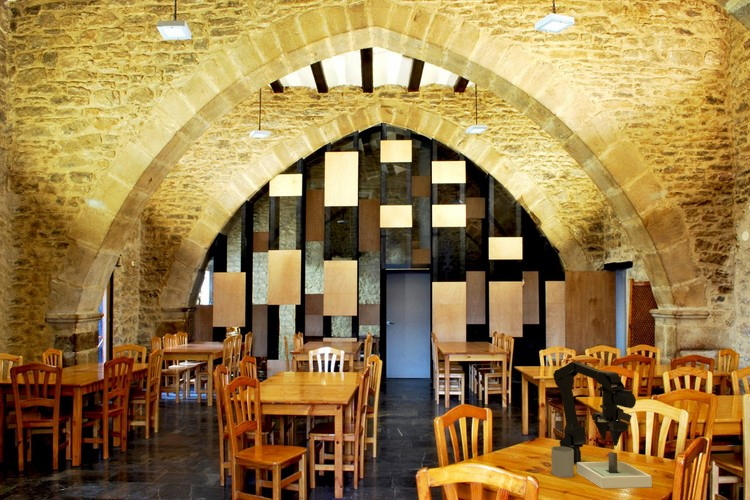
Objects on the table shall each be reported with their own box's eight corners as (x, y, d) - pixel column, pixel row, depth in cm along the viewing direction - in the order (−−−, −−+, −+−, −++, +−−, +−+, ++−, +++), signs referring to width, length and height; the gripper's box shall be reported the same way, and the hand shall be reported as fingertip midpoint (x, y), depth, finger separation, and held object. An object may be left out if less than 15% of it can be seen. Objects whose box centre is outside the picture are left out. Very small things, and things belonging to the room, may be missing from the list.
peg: (611, 478, 231) (611, 454, 232) (607, 475, 234) (606, 452, 235) (619, 478, 232) (618, 454, 232) (614, 475, 235) (614, 452, 235)
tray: (601, 488, 222) (601, 477, 222) (576, 472, 242) (576, 462, 242) (651, 487, 224) (651, 476, 225) (622, 471, 244) (622, 461, 244)
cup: (573, 472, 241) (573, 447, 242) (573, 478, 233) (573, 452, 234) (552, 470, 244) (552, 445, 245) (551, 476, 236) (551, 450, 237)
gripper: (641, 408, 233) (641, 449, 232) (616, 399, 251) (616, 436, 250) (614, 408, 231) (614, 449, 230) (591, 399, 250) (591, 436, 249)
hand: (609, 442), depth 240 cm, fingers open, 9 cm apart
